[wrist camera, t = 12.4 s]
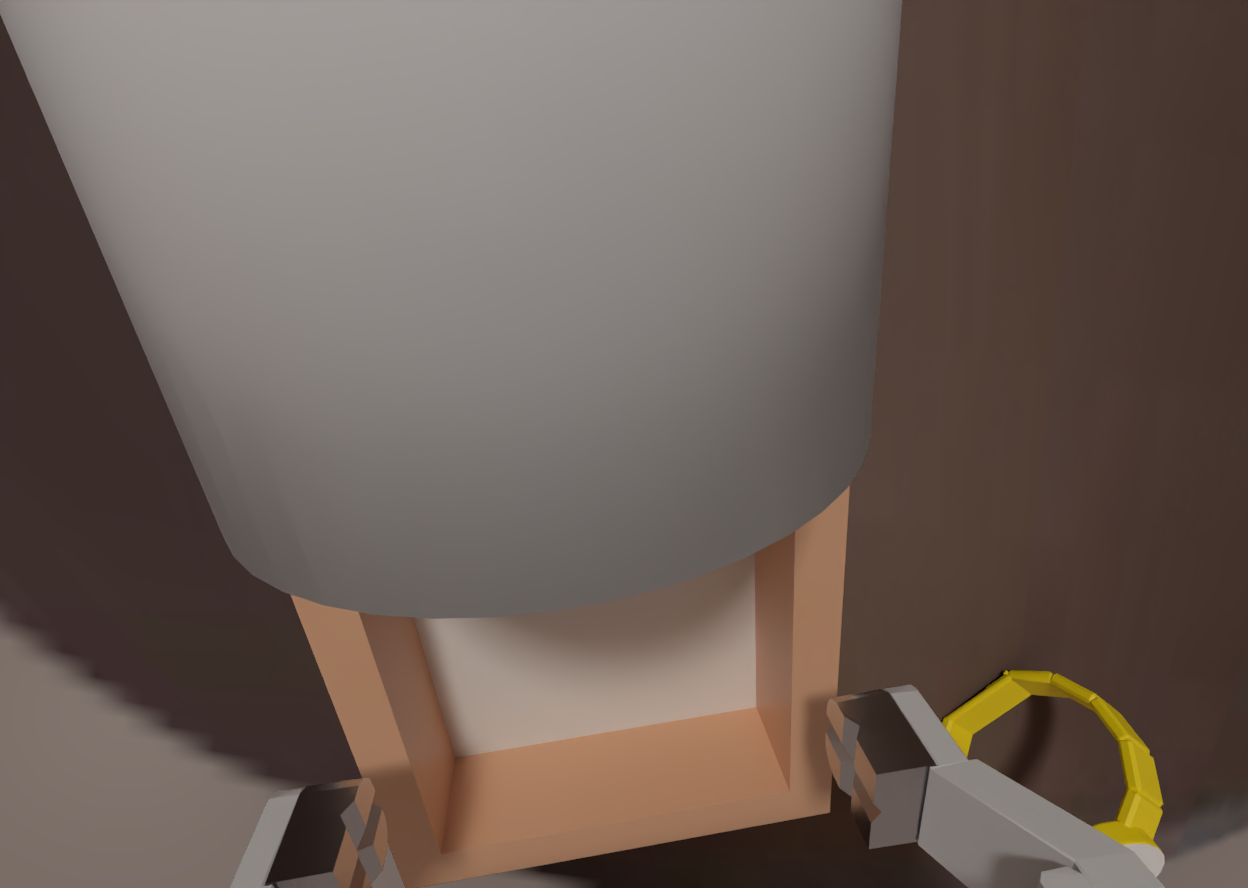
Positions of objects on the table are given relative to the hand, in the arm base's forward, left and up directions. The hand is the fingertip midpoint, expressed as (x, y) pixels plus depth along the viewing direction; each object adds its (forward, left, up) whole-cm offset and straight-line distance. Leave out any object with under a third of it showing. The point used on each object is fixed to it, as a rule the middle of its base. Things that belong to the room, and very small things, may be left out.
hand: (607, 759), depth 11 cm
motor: (0, -5, -7) cm, 9 cm away
